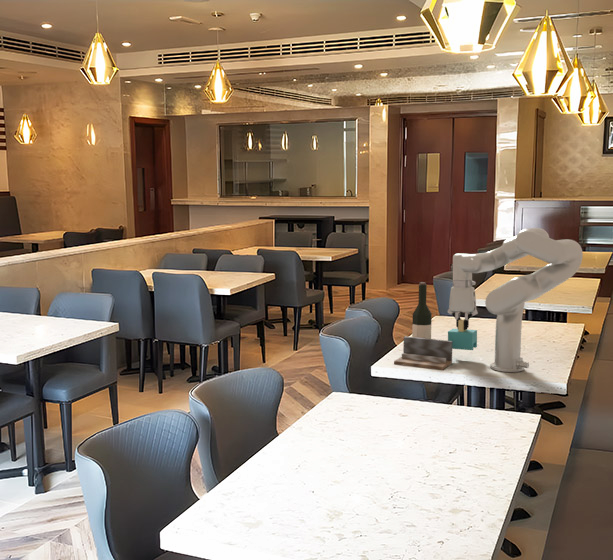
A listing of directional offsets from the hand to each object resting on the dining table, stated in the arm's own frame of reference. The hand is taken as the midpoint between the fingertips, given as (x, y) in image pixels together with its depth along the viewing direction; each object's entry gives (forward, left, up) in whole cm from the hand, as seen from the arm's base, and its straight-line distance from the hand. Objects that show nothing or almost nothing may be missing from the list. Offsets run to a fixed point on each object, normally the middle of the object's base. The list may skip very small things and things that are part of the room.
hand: (462, 328), depth 286 cm
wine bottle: (+20, 0, -13) cm, 24 cm away
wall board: (+8, +16, -13) cm, 22 cm away
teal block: (0, 0, -8) cm, 8 cm away
